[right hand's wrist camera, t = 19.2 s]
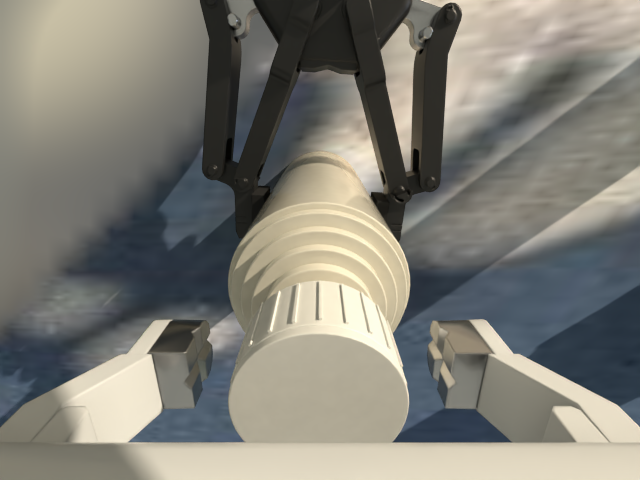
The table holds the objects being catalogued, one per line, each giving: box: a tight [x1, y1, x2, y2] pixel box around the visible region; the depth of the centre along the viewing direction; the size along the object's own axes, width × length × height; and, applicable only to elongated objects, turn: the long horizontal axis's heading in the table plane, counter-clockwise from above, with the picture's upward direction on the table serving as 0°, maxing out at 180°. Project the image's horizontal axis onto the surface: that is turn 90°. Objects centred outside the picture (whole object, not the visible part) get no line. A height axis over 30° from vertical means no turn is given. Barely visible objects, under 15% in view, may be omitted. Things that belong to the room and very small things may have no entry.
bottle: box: [228, 151, 410, 333], centre depth 19 cm, size 7×7×22 cm
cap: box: [228, 281, 409, 443], centre depth 9 cm, size 4×4×2 cm
